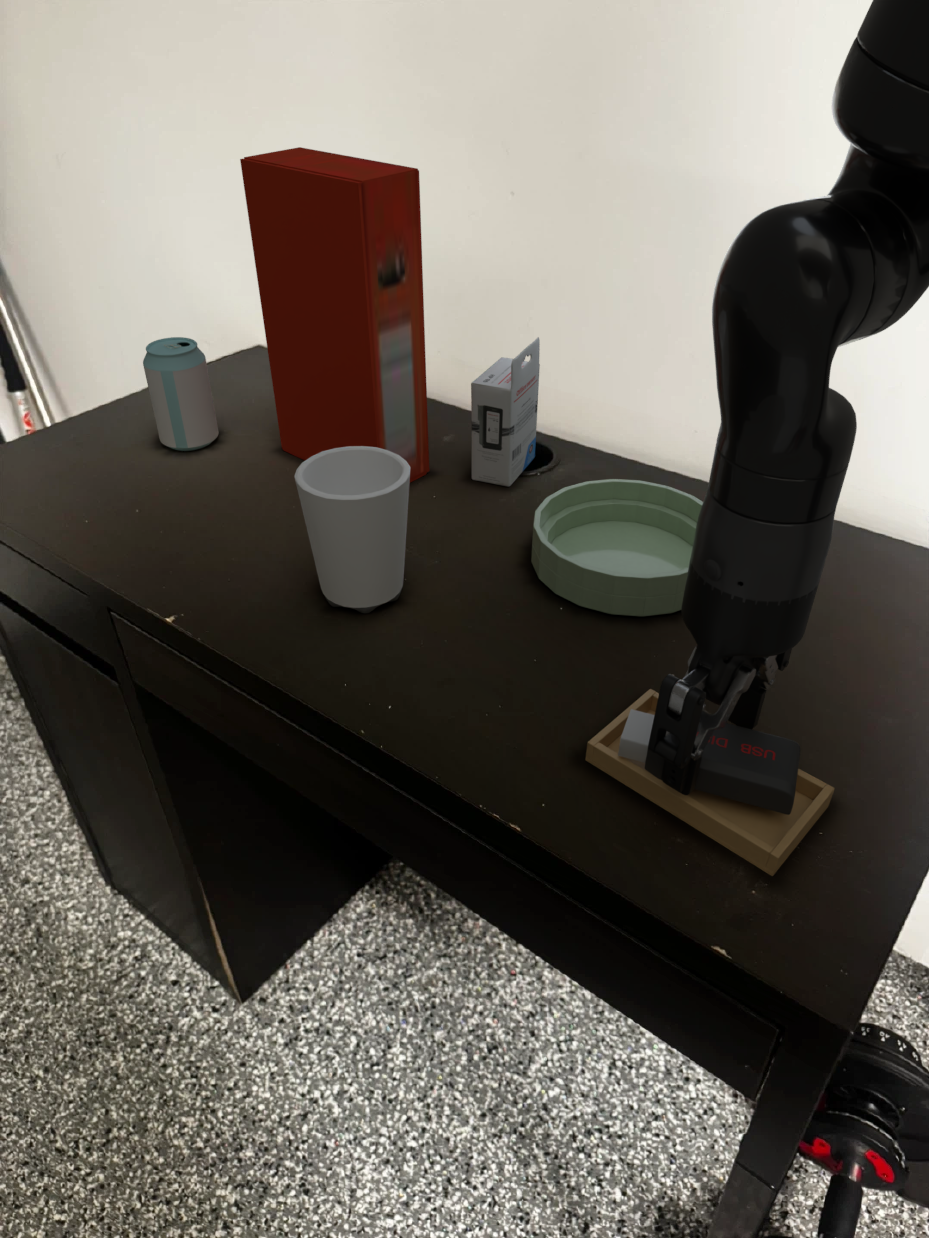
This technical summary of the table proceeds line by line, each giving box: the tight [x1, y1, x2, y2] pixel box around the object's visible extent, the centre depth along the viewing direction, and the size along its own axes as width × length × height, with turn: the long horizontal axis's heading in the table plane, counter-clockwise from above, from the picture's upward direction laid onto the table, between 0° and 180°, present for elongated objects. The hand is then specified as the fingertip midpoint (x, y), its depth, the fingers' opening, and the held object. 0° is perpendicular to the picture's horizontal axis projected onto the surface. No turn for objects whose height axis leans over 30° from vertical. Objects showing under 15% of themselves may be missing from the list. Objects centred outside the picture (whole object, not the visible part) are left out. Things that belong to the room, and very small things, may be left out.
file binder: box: [239, 147, 430, 483], centre depth 95 cm, size 8×17×32 cm, turn 48°
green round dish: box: [530, 478, 703, 617], centre depth 86 cm, size 18×18×4 cm
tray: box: [584, 688, 836, 877], centre depth 64 cm, size 15×8×2 cm, turn 47°
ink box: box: [470, 336, 541, 488], centre depth 99 cm, size 8×5×15 cm, turn 156°
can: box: [142, 336, 220, 452], centre depth 106 cm, size 7×7×12 cm
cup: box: [293, 446, 411, 614], centre depth 80 cm, size 10×10×13 cm
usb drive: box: [618, 709, 801, 815], centre depth 62 cm, size 5×12×3 cm, turn 69°
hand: (710, 753), depth 62 cm, fingers open, 8 cm apart
